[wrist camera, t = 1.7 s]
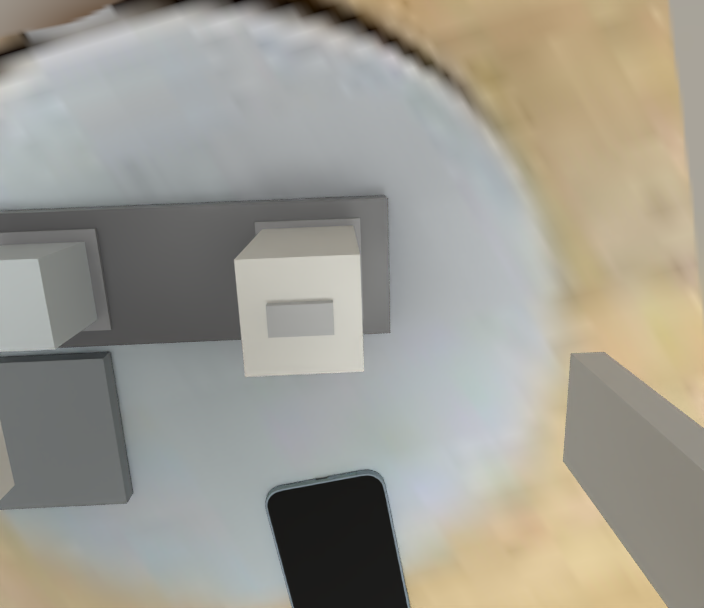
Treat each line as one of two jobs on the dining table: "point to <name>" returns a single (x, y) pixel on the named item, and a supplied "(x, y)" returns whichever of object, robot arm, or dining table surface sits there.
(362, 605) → the smartphone
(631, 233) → the dining table surface
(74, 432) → the coaster
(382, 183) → the dining table surface
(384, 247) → the power strip
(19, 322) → the cube
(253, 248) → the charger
